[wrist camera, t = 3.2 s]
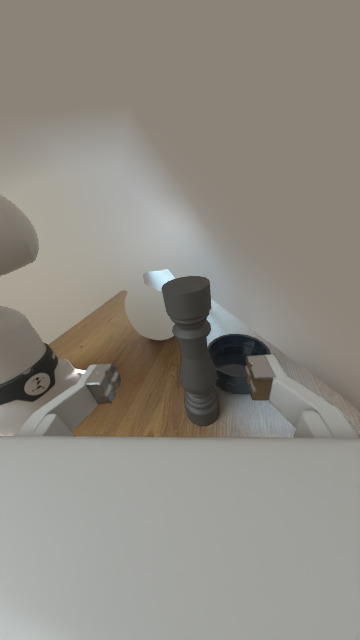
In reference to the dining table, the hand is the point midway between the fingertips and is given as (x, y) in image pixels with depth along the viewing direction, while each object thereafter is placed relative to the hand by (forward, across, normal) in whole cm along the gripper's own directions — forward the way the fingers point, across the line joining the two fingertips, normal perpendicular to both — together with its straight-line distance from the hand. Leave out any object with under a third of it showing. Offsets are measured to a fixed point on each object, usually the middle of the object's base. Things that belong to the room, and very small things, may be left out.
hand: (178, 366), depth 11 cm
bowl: (+21, -8, +24) cm, 33 cm away
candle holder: (+12, 0, +24) cm, 27 cm away
